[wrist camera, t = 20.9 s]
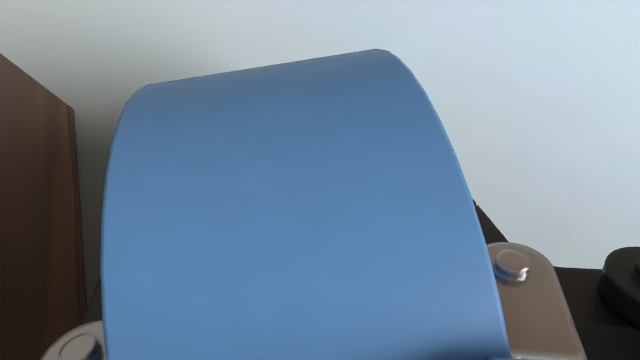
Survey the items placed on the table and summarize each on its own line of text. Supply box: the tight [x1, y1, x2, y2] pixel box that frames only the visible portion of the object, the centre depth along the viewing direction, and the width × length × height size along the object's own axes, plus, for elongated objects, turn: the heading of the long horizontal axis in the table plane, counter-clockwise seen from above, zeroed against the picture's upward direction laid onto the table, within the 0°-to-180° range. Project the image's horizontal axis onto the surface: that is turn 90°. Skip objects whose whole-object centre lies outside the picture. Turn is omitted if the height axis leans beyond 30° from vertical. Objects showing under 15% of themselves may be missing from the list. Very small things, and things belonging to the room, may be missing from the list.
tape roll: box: [100, 49, 511, 360], centre depth 10 cm, size 5×10×10 cm, turn 11°
